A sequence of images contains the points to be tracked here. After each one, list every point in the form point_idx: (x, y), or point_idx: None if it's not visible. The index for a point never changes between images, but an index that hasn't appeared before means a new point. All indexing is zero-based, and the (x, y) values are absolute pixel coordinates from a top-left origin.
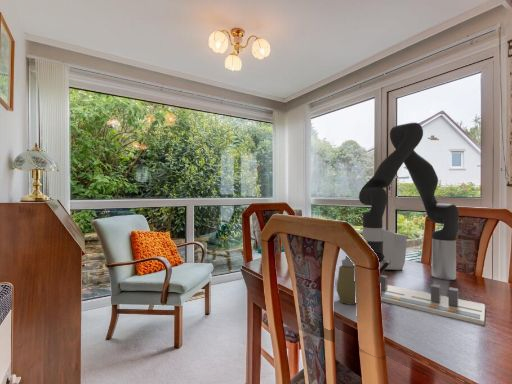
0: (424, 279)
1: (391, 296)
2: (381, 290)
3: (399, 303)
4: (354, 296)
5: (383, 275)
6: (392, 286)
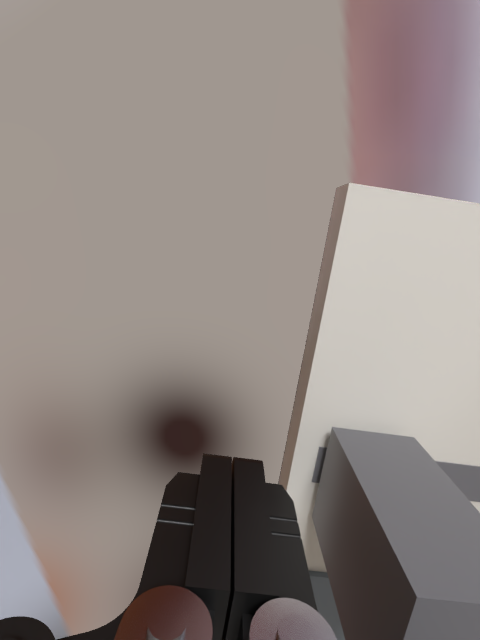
0: None
1: None
2: None
3: None
4: None
5: (474, 620)
6: (475, 231)
